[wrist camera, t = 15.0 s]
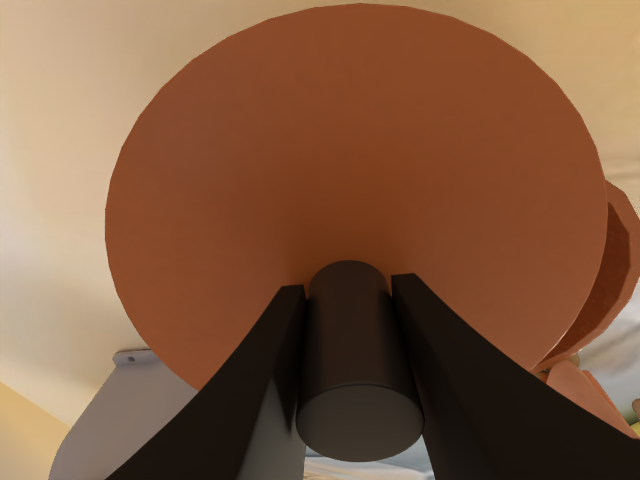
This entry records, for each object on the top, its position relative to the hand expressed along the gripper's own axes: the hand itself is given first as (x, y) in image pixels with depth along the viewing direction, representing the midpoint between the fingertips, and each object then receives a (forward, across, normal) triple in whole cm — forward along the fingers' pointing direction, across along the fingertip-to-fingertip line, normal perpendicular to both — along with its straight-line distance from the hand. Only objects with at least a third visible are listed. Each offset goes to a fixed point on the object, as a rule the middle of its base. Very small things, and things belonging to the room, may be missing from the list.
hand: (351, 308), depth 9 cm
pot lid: (+1, 0, 0) cm, 1 cm away
